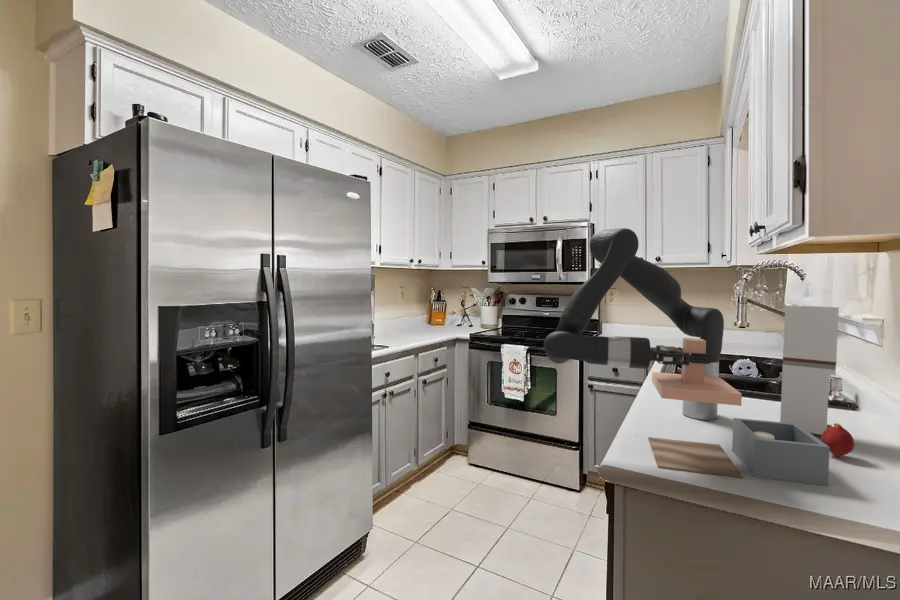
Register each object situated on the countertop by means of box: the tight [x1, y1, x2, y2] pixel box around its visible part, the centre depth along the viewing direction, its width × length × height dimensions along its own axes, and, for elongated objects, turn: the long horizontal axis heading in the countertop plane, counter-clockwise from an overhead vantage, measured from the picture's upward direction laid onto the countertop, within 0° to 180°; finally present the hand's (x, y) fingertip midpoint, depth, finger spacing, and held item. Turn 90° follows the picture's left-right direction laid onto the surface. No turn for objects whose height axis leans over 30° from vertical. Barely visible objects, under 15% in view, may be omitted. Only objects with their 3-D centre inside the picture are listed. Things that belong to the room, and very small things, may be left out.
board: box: [647, 436, 744, 479], centre depth 103 cm, size 18×16×1 cm
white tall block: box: [779, 303, 840, 441], centre depth 117 cm, size 11×11×35 cm
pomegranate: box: [821, 422, 855, 458], centre depth 103 cm, size 6×6×8 cm
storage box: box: [731, 417, 830, 486], centre depth 98 cm, size 15×13×8 cm
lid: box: [651, 337, 743, 407], centre depth 102 cm, size 17×15×12 cm
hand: (706, 357), depth 101 cm, fingers closed on lid, 4 cm apart
